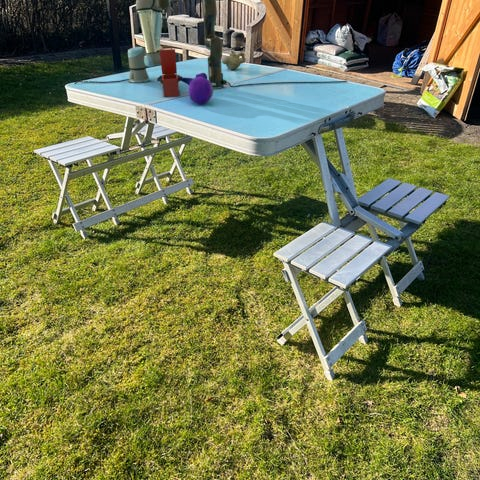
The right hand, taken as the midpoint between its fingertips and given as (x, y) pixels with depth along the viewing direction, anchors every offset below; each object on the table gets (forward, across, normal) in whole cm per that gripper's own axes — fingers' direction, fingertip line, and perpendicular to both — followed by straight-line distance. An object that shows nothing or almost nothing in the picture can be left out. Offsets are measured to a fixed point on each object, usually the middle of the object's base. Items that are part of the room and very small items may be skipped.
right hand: (165, 28), depth 279 cm
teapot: (+40, +81, -53) cm, 105 cm away
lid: (+21, +5, 0) cm, 21 cm away
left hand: (+33, +6, 0) cm, 34 cm away
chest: (+40, +1, 0) cm, 40 cm away
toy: (+40, -25, -16) cm, 50 cm away
